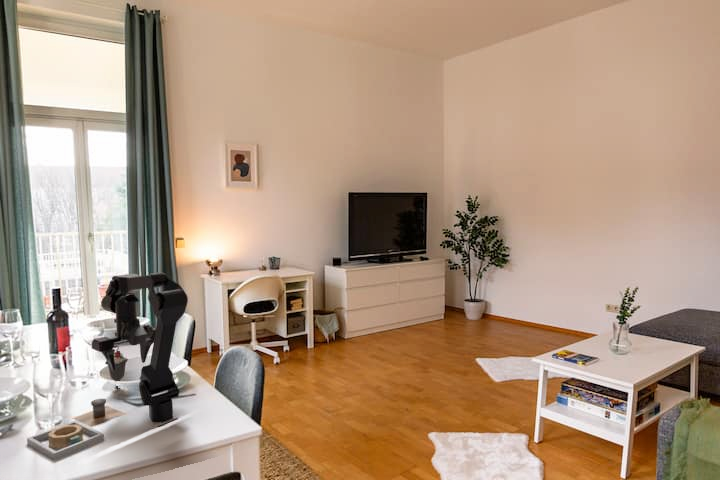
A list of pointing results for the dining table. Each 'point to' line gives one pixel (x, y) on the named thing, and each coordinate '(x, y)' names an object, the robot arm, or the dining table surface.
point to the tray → (54, 454)
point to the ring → (65, 436)
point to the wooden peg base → (98, 413)
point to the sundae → (118, 366)
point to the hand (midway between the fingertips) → (128, 366)
